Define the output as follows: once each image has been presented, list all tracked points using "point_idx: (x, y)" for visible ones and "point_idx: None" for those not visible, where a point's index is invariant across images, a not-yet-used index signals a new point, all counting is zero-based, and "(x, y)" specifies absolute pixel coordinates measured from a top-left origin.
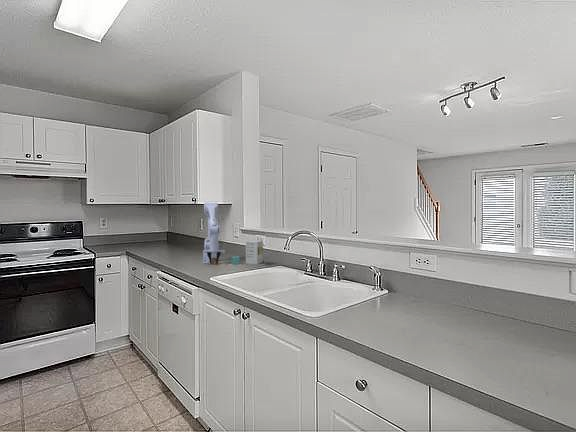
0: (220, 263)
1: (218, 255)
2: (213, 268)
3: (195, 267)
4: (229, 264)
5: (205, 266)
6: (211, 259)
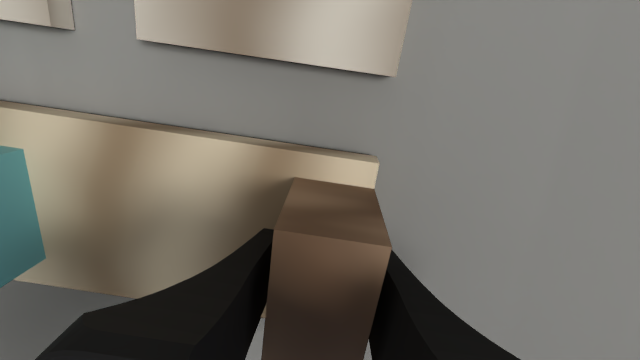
0: None
1: (155, 311)
2: None
3: (618, 208)
4: (65, 179)
5: (449, 255)
6: (385, 243)
